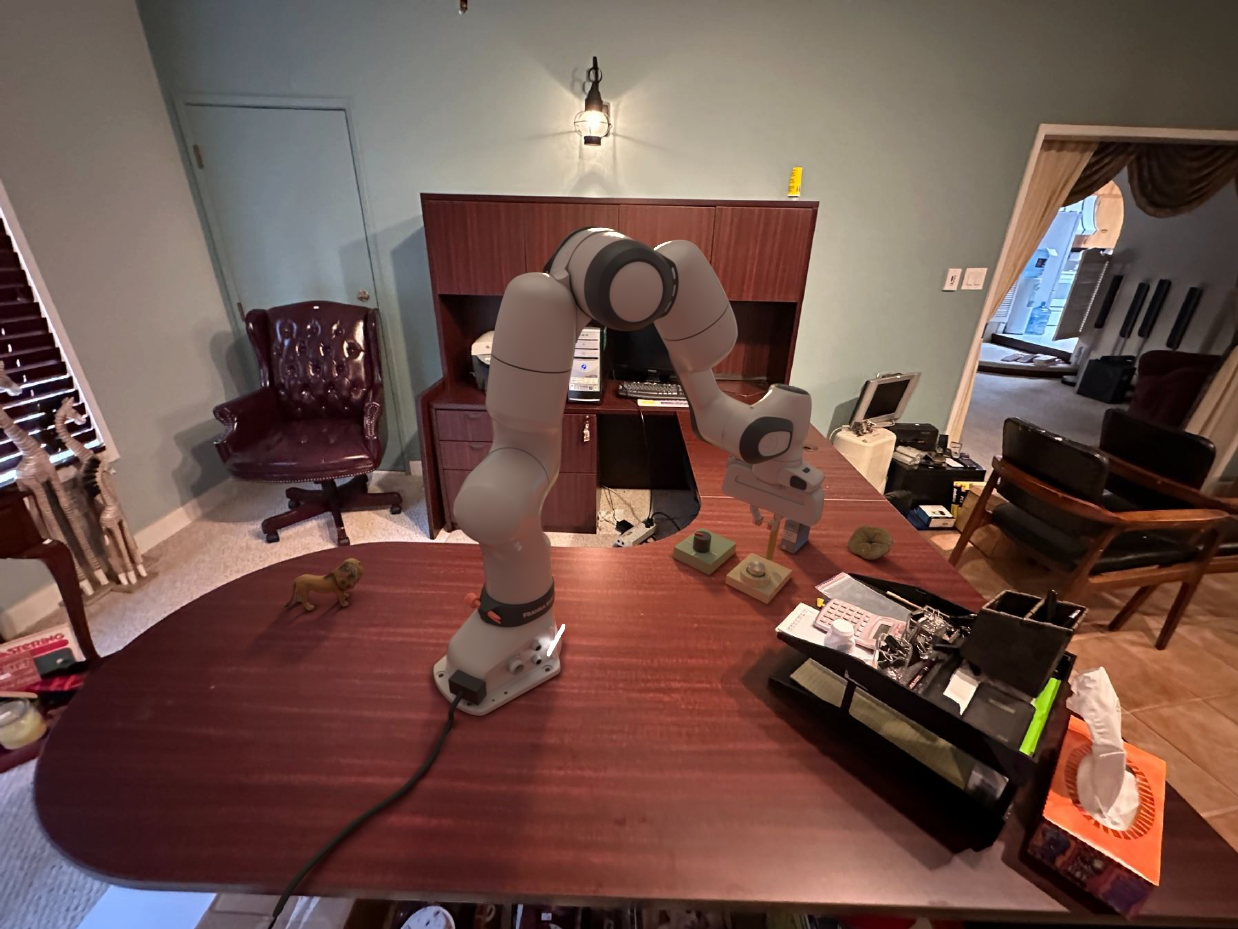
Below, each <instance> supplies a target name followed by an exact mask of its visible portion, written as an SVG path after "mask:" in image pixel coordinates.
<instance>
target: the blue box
mask: <svg viewBox="0 0 1238 929" xmlns="http://www.w3.org/2000/svg"><path fill="white" fill-rule="evenodd" d="M811 527H812V526H811ZM811 527H809V526H806V525H804V524H801V523H798V522H796V521H793V520H790V519H788V518H786V519H785V522H784V526H783V531H782V536H781V541H780V545H779V549H780V550H782V551H785V552H787V553H790V554H793V555H794V554H795V553H796V552H798V550H800V548H802V547H803V546H804V545H805V543H807V542H808V540H809V536H810V531H811Z"/></svg>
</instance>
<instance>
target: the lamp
mask: <svg viewBox="0 0 1238 929" xmlns="http://www.w3.org/2000/svg"><path fill="white" fill-rule="evenodd" d="M776 519H777V518H775V513H773V517H772V520H774V521H775V520H776ZM780 525H781V521H780V522H778V525H777V529H776V530H775V531H774V532H772V531H770V530H769V532H770V533H769V535H768V536H769V537H768V542H767V546H766V553H765V557H764V558H765V559H767V560H770V561H772V560H773V559H774V554H775V550H776V545H777V540H778V534H779V530H780V527H781V526H780Z"/></svg>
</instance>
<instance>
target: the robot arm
mask: <svg viewBox="0 0 1238 929" xmlns="http://www.w3.org/2000/svg"><path fill="white" fill-rule="evenodd" d="M592 319H593V320H596V321H597V322H598V323H599V324H601V325H602V326H604V327H606V328H609V329H612V330H614V331H621V332H632V331H637V330H641V329H643V328H645V327H647V326H649V325H651V324H652V323H653V324H654V327H655V328H656V330H657V333H658V334H659V336H660V338H661V340H662V342H663V344H664V345H665V347H666V350H667V351H668V357H669V358H668V359H669V361H670V364H671V367H672V370H673V373H674V375H675V378H676V380H677V381H678V384H679V386H680V388H681V391H682V393H683V395H684V398H685V400H686V403H687V406H688V410H689V417H690V419H689V420H690V426H691V430H692V433H693V435H694V437H695V438H697V439H698V440H699V441H701V442H703V443H706V444H708V445H711V446H714V447H715V448H717V449H719V450H721V451H723V452H725V453H726V454H728V455H729V456H728V458H727V459H726V465H725V468H726V471H725V474H724V477H723V481H722V485H721V490H722V493H723V495H725V496H727V497H730V498H732V499H735V500H738V501H740V502H743V503H746V504H749V510H750V513H751V516H752V517H753V519H752V524H753V525H755V526H758V527H760V526H761V525H763V523H764V519H765V518H764V517H765V516H764V515H761V511H760V509H761V510H764V511H767V512H769V513H772V514H774V513H775V518H777V519H776V520H775V521H774V520H773V519H770V520H769V521H768V522H767V524H766V526H767V527H766V530H767V531H769V532H770V531H772V532H774V531H775V530H776V529H777V525H778V522H780V523H781V521H782V520H783V519H790V520H793V521H796V522H798V523H801V524H804V525H806V526H809V527H814V526H815V525H817V524H818V523H819V522H820V521H821V519H822V516H823V512H824V505H825V490H824V488H823V487H822V484H823V483H824V481H825V477H826V475H825V473H824V472H822V471H821V470H820V469H818V468H817V467H815V466H814V465H812V464H811V463H809V462H808V461H807V460H805V459H804V450H803V449H804V448H803V447H804V443H805V441H806V439H807V437H808V434H809V429H810V424H811V418H812V409H813V408H812V406H813V403H812V395H811V393H809V392H808V391H807V390H806V389H803V388H800V387H797V386H795V385H790V384H787V383H772V384H770V386H769V388H768V390H767V393H766V394H765V395H764V396H763V397H762V398H761V399H760V400H758V401H757V402H755V403H753V404H748V403H745V402H743V401H741V400H739V399H736V398H734V397H731V396H730V395H728V394H726V393H725V392H723V391H722V390H721V389H720V388H719V386H718V383H717V381H716V377H715V374H714V372H713V369H712V368H714V367H716V366H718V365H719V364H720V363H721V362H723V361H724V360H725V359H726V358H727V357H728V356H729V354H730V353H731V352H732V351H733V349H734V347H735V344H736V342H737V339H738V334H739V332H738V324H737V319H736V316H735V313H734V311H733V308H732V306H731V303H730V300H729V298H728V296H727V294H726V292H725V290H724V287H723V285H722V283H721V280H720V279H719V277H718V276H717V274H716V271H715V270H714V268H713V267H712V265H711V263H710V262H709V260H708V259H707V257H706V256H705V254H704V253H703V252H702V251H701V249H700V247H698V246H697V245H696V244H695V243H693V242H692V241H690V240H686V239H673V240H669V241H666V242H664V243H662V244H660V245H657V247H655V248H653V247H652V246H651V245H648V244H646V243H645V242H642V241H640V240H637V239H633V238H632V237H630V236H629V235H627V234H625V233H624V232H622V231H619V230H615V229H611V228H603V227H599V226H596V225H595V226H594V225H592V226H591V225H590V226H584V227H583V226H582V227H580V228H577V229H575V230H573V231H571V232H570V233H568V234H567V235H566V236H565V237H564V238H563V239H562V240H561V242H560V243H559V245H558V246H557V248H556V250H555V252H554V253H553V254H552V255H551V257H550V258H549V259H548V260H547V262H546V263H545V265H544V266H543V268H542V272H534V271H533V272H527V273H526V272H525V273H522V274H520V275H517V276H515V277H514V278H512V280H511V281H509V283H508V284H507V285H506V287H505V290H504V294H503V297H502V299H501V302H500V307H499V310H498V313H497V317H496V322H495V327H494V330H493V337H492V344H491V350H490V358H489V359H490V360H489V368H488V377H487V386H486V395H485V402H484V405H485V409H486V410H485V411H486V412H487V414H488V415H489V416H490V418H491V424H492V433H493V436H492V437H493V438H492V443H491V446H490V448H489V451H488V453H487V455H486V456H485V458H483V459H482V461H480V463H479V464H477V466H476V467H474V469H473V470H472V471H470V472H469V473H468V475H467V476H466V478H465V479H464V481H463V483H462V485H461V486H460V488H459V490H458V492H457V495H456V497H455V499H454V502H453V506H452V507H453V508H452V510H453V512H452V513H453V517H454V520H455V522H456V524H457V526H458V528H459V529H460V531H461V532H462V533H463V534H464V535H465V536H467V538H469V539H470V540H472V541H474V542H476V543H478V545H479V548H480V551H481V556H482V557H481V558H482V566H483V576H484V583H483V586H482V588H481V592H480V596H477V595H476V594H475V593H474V592H469V593H467V594H465V597H464V600H463V602H464V604H465V605H467V606H469V608H471V609H474V610H473V612H471V613H470V615H469V616H468V618H467V619H466V620H465V621H464V622H463V623H462V624H461V626H460V627H459V628H458V630H456V632H455V633H454V634H453V636H452V637H450V639H449V641H448V644H447V647H446V654H445V655H444V656H443V657H441V658H440V659H439V660H438V661H437V662H436V663H435V664H434V665H433V681H434V683H435V686H436V688H437V689H438V691H439V692H440V693H441V695H442V696H443V697H444V698H445V699H446V700H447V701H448V702H449V703H450V706H449V708H448V711H447V721H446V723H445V726H444V729H443V731H442V733H441V736H440V738H439V741H438V743H437V744H436V745H435V748H434V749H433V750H432V752H431V754H430V755H429V757H428V758H427V759H426V760H425V761H424V763H423V764H422V765H421V767H420V768H419V769H418V770H417V771H416V772H415V774H413V775H412V777H411V778H410V779H409V780H408V781H407V782H406V783H404V784H403V785H402V786H401V787H400V788H398V789H397V790H396V791H395V792H393V793H392V794H391V795H389V796H388V797H386V798H385V799H384V800H382V801H380V802H379V803H377V804H375V805H374V806H373V807H371V808H369V809H368V810H366V811H365V812H363V813H362V814H361V815H359V816H358V817H356V818H355V819H353V820H352V821H351V822H350V823H348V824H347V825H346V826H345V827H343V828H342V829H341V830H340V831H339V832H338V833H337V834H335V836H333V837H332V838H331V839H330V840H329V841H328V842H327V843H326V844H325V845H324V846H322V848H321V849H319V850H318V851H317V852H315V854H314V855H313V856H312V857H310V859H309V860H308V861H307V862H306V863H305V864H304V865H303V866H302V867H301V868H300V870H299V871H298V872H297V873H296V874H295V875H294V876H293V878H292V879H291V881H290V882H289V883H288V885H287V886H286V888H285V889H284V891H283V892H282V895H281V896H280V898H279V899H278V901H277V903H276V905H275V907H274V910H273V911H272V918H278V917H279V916H280V915H281V914H282V912H283V910H284V908H285V907H286V904H287V903H288V901H289V899H290V897H292V894H293V892H294V891H295V890H296V888H297V887H298V885H299V884H300V883H301V881H302V880H304V877H305V876H306V875H307V874H308V873H309V872H310V871H311V870H312V868H313V867H314V866H316V864H318V863H319V861H321V860H322V858H324V857H325V856H326V855H327V854H328V853H329V852H330V851H331V850H332V849H333V848H334V847H336V846H337V845H338V844H339V843H340V842H341V841H342V840H343V839H344V838H345V837H346V836H348V835H349V834H350V833H351V832H353V831H354V830H355V829H356V828H357V827H358V826H361V825H362V824H363V823H364V822H366V821H367V820H368V819H370V818H371V817H373V816H374V815H376V814H378V813H379V812H380V811H382V810H384V809H385V808H387V807H388V806H390V805H391V804H393V803H395V802H396V801H397V800H399V798H401V797H402V796H403V795H405V794H406V793H407V792H408V791H409V790H410V789H411V788H412V787H413V786H414V785H415V784H416V783H417V782H418V781H419V780H420V778H421V777H422V776H423V775H424V774H425V773H426V772H427V771H428V769H429V768H430V767H431V765H432V764H433V762H434V761H435V760H436V758H437V756H438V754H439V752H440V749H441V746H442V744H443V743H444V740H445V738H446V737H447V736H448V734H449V732H450V731H451V729H452V726H453V723H454V721H455V711H456V709H458V710H460V711H461V712H463V713H465V714H469V715H471V716H472V715H473V716H478V717H483V716H485V715H487V714H490V713H491V712H493V711H495V710H496V709H498V708H500V707H502V706H503V705H505V704H507V703H509V702H511V701H512V700H514V699H517V698H518V697H520V696H522V695H524V694H525V693H527V692H528V691H529V692H530V690H532V689H534V688H536V687H538V686H539V685H541V684H543V683H545V682H547V681H549V680H550V679H552V678H554V677H556V676H557V675H559V674H560V672H561V670H562V669H561V668H562V666H561V661H560V655H561V652H562V648H563V640H562V639H563V638H562V636H561V635H562V634H563V632H564V631H565V628H566V627H565V626H566V625H565V624H562V625H561V627H560V629H559V628H558V625H557V621H556V616H555V609H554V603H555V600H556V596H555V595H556V591H555V590H556V588H555V579H554V576H553V573H552V571H553V570H552V567H553V566H552V543H551V542H552V541H551V539H550V537H549V536H548V535H547V534H546V533H545V532H544V529H543V525H542V511H543V506H544V504H545V500H546V498H547V496H548V495H549V494H550V492H551V490H552V488H553V487H554V485H555V484H556V481H557V480H558V478H559V473H560V470H561V463H562V444H563V422H564V414H565V409H566V408H565V407H566V403H567V398H568V392H569V387H570V381H571V376H572V372H573V366H574V360H575V359H574V358H575V354H576V353H575V352H576V346H577V343H578V341H579V338H580V336H581V334H582V333H583V331H584V329H585V327H586V326H587V325H588V324H589V323H590V322H591V321H592Z"/></svg>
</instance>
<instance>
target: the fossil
mask: <svg viewBox="0 0 1238 929" xmlns="http://www.w3.org/2000/svg"><path fill="white" fill-rule="evenodd" d="M893 544H894V539H893V538H892V535H891V533H890V532H889V531H888V530H887V529H885V528H883V527H880V526H871V525H867V524H866V525H861V526H858V527H857V528H855V529H854V531H853V532H852V534H851V536H850V538H849V540H848V541H847V548H848V550H849V551H850V552H851V553H852V554H855V555H857V556H860V557H861V558H863V559H866V560H877V559H880V558H882V557H884V556H886V555H887V554H888V553H890V552H891V549H892V546H893Z"/></svg>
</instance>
